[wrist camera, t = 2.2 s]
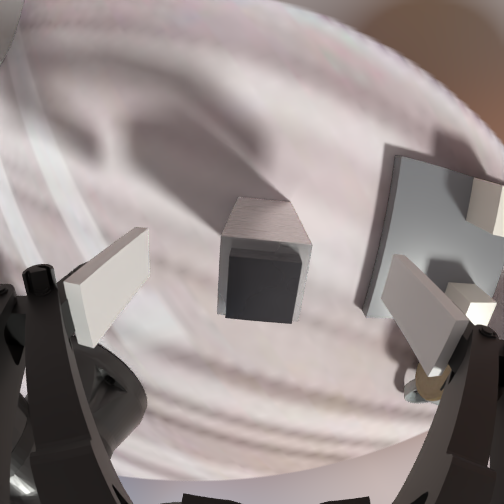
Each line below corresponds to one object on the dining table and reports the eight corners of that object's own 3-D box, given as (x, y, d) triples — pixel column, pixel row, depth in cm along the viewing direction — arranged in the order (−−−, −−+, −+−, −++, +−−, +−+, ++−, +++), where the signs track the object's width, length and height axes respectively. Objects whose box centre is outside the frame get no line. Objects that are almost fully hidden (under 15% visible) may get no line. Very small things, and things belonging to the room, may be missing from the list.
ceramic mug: (440, 322, 26) (474, 367, 19) (476, 338, 27) (506, 376, 19) (385, 390, 29) (403, 439, 22) (426, 397, 30) (445, 439, 23)
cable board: (362, 310, 25) (380, 344, 20) (395, 155, 20) (428, 159, 15) (478, 312, 25) (502, 336, 20) (513, 193, 20) (546, 205, 15)
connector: (234, 246, 23) (214, 325, 13) (238, 196, 22) (217, 243, 12) (284, 251, 23) (300, 333, 13) (290, 202, 22) (316, 252, 12)
